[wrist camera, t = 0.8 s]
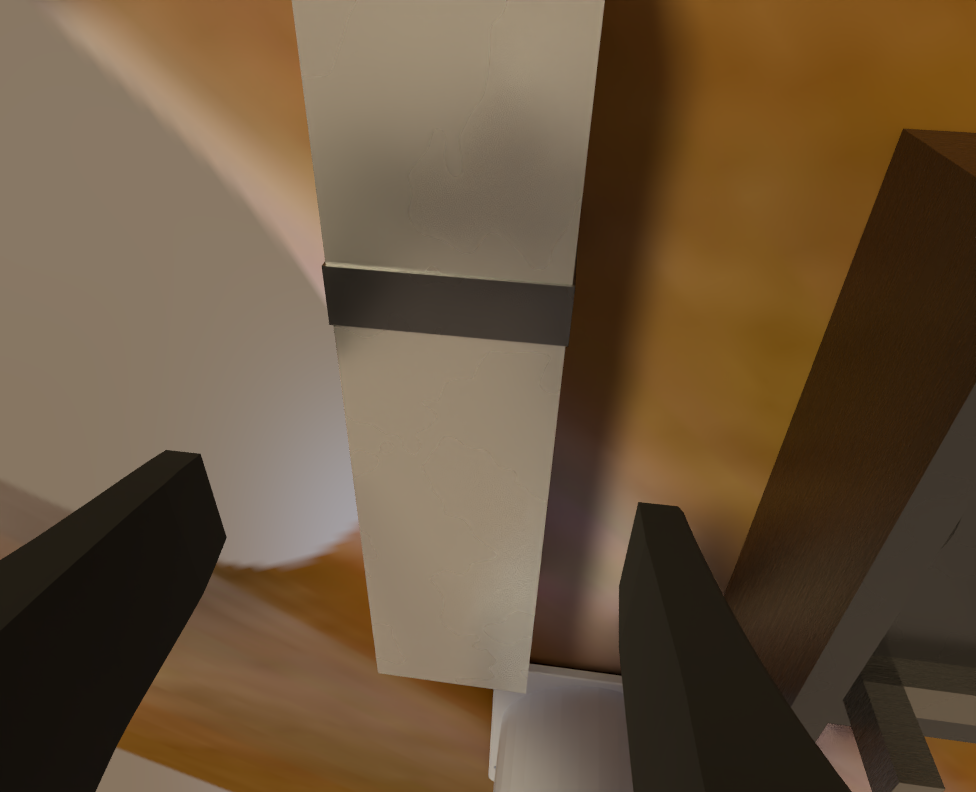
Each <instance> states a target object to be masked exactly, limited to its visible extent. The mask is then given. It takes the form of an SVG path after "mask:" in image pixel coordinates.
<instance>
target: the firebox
mask: <svg viewBox="0 0 976 792" xmlns="http://www.w3.org/2000/svg"><path fill="white" fill-rule="evenodd" d="M724 597H725V599H726V601H727V603H728V605H729V606H730V608H731V610H732V612H733V614H734V615H735V617H736V619H737V621H738V622H739V624H740V626H741V628H742V629H743V631H744V633H745V635H746V636H747V638H748V640H749V642H750V643H751V645H752V647H753V648H754V650H755V652H756V653H757V655H758V657H759V658H760V660H761V662H762V663H763V665H764V666H765V668H766V670H767V671H768V673H769V674H770V676H771V677H772V679H773V681H774V682H775V684H776V685H777V687H778V688H779V690H780V691H781V693H782V695H783V696H784V698H785V699H786V701H787V702H788V704H789V705H790V707H791V708H792V710H793V711H794V713H795V714H796V716H797V717H798V719H799V720H800V722H801V723H802V724H803V726H804V727H805V729H806V730H807V732H808V733H809V735H810V736H811V737H812V739H813V740H814V742H816V740H817V739H818V737H819V736H820V734H821V733H822V731H823V730H824V728H825V727H826V725H827V723H831V724H839V725H846V726H851V727H852V730H853V734H854V737H855V740H856V743H857V746H858V749H859V752H860V755H861V759H862V762H863V765H864V768H865V771H866V774H867V777H868V780H869V783H870V787H871V790H872V792H943V791H944V790H945V787H944V785H943V782H942V780H941V777H940V775H939V772H938V770H937V767H936V765H935V763H934V760H933V758H932V755H931V753H930V750H929V748H928V745H927V743H926V740H925V738H924V736H926V737H934V738H941V739H948V740H956V741H963V742H970V743H976V133H966V132H949V131H932V130H915V129H903V131H902V133H901V136H900V139H899V141H898V144H897V146H896V149H895V152H894V154H893V157H892V159H891V162H890V165H889V167H888V170H887V172H886V175H885V178H884V180H883V183H882V186H881V188H880V191H879V193H878V196H877V199H876V201H875V204H874V206H873V209H872V212H871V214H870V217H869V219H868V222H867V225H866V227H865V230H864V233H863V235H862V238H861V240H860V243H859V246H858V248H857V251H856V253H855V256H854V259H853V261H852V264H851V266H850V269H849V272H848V274H847V277H846V280H845V282H844V285H843V287H842V290H841V293H840V295H839V298H838V300H837V303H836V306H835V308H834V311H833V313H832V316H831V319H830V321H829V324H828V327H827V329H826V332H825V334H824V337H823V340H822V342H821V345H820V347H819V350H818V353H817V355H816V358H815V361H814V363H813V366H812V368H811V371H810V374H809V376H808V379H807V381H806V384H805V387H804V389H803V392H802V394H801V397H800V400H799V402H798V405H797V408H796V410H795V413H794V415H793V418H792V421H791V423H790V426H789V428H788V431H787V434H786V436H785V439H784V441H783V444H782V447H781V449H780V452H779V455H778V457H777V460H776V462H775V465H774V468H773V470H772V473H771V475H770V478H769V481H768V483H767V486H766V488H765V491H764V494H763V496H762V499H761V502H760V504H759V507H758V509H757V512H756V515H755V517H754V520H753V522H752V525H751V528H750V530H749V533H748V535H747V538H746V541H745V543H744V546H743V549H742V551H741V554H740V556H739V559H738V562H737V564H736V567H735V569H734V572H733V575H732V577H731V580H730V582H729V585H728V588H727V590H726V593H725V596H724Z"/></svg>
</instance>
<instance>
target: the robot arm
mask: <svg viewBox="0 0 976 792" xmlns="http://www.w3.org/2000/svg"><path fill="white" fill-rule="evenodd" d="M225 540H226V534H225V531H224V528H223V525H222V521H221V518H220V515H219V512H218V509H217V505H216V502H215V499H214V496H213V492H212V489H211V486H210V483H209V480H208V477H207V473H206V470H205V467H204V464H203V460H202V457H201V454H197V453H188V452H178V451H170V450H165V451H164V452H162V453H161V454H159V455H157V456H156V457H154V458H153V459H151V460H150V461H148V462H147V463H145V464H144V465H142V466H141V467H139V468H138V469H136V470H135V471H133V472H132V473H130V474H129V475H127V476H126V477H124V478H123V479H121V480H120V481H119V482H117V483H116V484H114V485H113V486H111V487H110V488H109V489H107V490H105V491H104V492H103V493H101V494H100V495H99V496H97V497H95V498H94V499H92V500H91V501H90V502H88V503H87V504H85V505H84V506H82V507H81V508H79V509H78V510H76V511H75V512H73V513H72V514H70V515H69V516H67V517H66V518H64V519H63V520H61V521H60V522H59V523H57V524H56V525H54V526H53V527H51V528H50V529H48V530H47V531H45V532H44V533H42V534H41V535H39V536H38V537H36V538H35V539H33V540H32V541H30V542H28V543H27V544H25V545H24V546H22V547H20V548H19V549H17V550H16V551H14V552H12V553H11V554H9V555H8V556H6V557H5V558H3V559H1V560H0V792H95V791H96V789H97V787H98V785H99V783H100V781H101V778H102V776H103V774H104V772H105V769H106V768H107V765H108V763H109V761H110V759H111V757H112V755H113V752H114V750H115V748H116V746H117V744H118V742H119V741H120V739H121V737H122V735H123V733H124V731H125V729H126V727H127V726H128V724H129V722H130V720H131V718H132V716H133V715H134V713H135V711H136V709H137V708H138V706H139V704H140V703H141V701H142V699H143V697H144V696H145V694H146V692H147V691H148V689H149V687H150V685H151V684H152V682H153V680H154V678H155V677H156V675H157V673H158V672H159V670H160V668H161V666H162V665H163V663H164V661H165V660H166V658H167V656H168V654H169V653H170V651H171V649H172V648H173V646H174V644H175V642H176V641H177V639H178V637H179V636H180V634H181V632H182V630H183V629H184V627H185V625H186V623H187V622H188V620H189V618H190V616H191V615H192V613H193V611H194V609H195V608H196V606H197V604H198V602H199V600H200V599H201V597H202V595H203V593H204V591H205V589H206V586H207V584H208V582H209V579H210V577H211V575H212V572H213V570H214V568H215V565H216V563H217V560H218V558H219V555H220V553H221V550H222V548H223V545H224V543H225ZM619 653H620V664H621V674H622V676H620V675H612V674H605V673H597V672H590V671H583V670H575V669H568V668H560V667H553V666H545V665H538V664H530V663H529V670H528V679H527V688H526V694H525V693H518V692H511V691H504V690H496V689H494V691H493V708H492V725H491V741H490V758H489V775H488V776H489V778H490V779H491V780H492V781H494V789H493V792H852V791H851V790H850V789H849V788H848V786H847V785H846V784H845V782H844V781H843V780H842V778H841V777H840V776H839V775H838V773H837V772H836V771H835V769H834V768H833V766H832V765H831V764H830V762H829V761H828V759H827V758H826V757H825V755H824V754H823V753H822V751H821V750H820V748H819V747H818V746H817V744H816V743H815V742H814V740H813V739H812V737H811V736H810V735H809V733H808V732H807V730H806V729H805V727H804V726H803V724H802V723H801V722H800V720H799V719H798V717H797V716H796V714H795V713H794V711H793V710H792V708H791V707H790V705H789V704H788V702H787V701H786V699H785V698H784V696H783V695H782V693H781V691H780V690H779V688H778V687H777V685H776V684H775V682H774V681H773V679H772V677H771V676H770V674H769V673H768V671H767V670H766V668H765V666H764V665H763V663H762V662H761V660H760V658H759V657H758V655H757V653H756V652H755V650H754V648H753V647H752V645H751V643H750V642H749V640H748V638H747V636H746V635H745V633H744V631H743V629H742V628H741V626H740V624H739V622H738V621H737V619H736V617H735V615H734V614H733V612H732V610H731V608H730V606H729V605H728V603H727V601H726V599H725V597H724V596H723V594H722V592H721V590H720V588H719V586H718V584H717V582H716V580H715V579H714V577H713V575H712V573H711V571H710V569H709V567H708V565H707V563H706V561H705V559H704V557H703V555H702V553H701V550H700V548H699V546H698V544H697V542H696V540H695V538H694V536H693V533H692V531H691V529H690V527H689V524H688V522H687V520H686V517H685V515H684V513H683V512H682V510H681V509H680V508H679V507H678V506H669V505H660V504H651V503H642V502H638V506H637V511H636V515H635V519H634V524H633V528H632V532H631V537H630V541H629V545H628V550H627V554H626V559H625V563H624V567H623V572H622V576H621V580H620V585H619Z"/></svg>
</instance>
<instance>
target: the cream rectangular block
mask: <svg viewBox="0 0 976 792" xmlns="http://www.w3.org/2000/svg"><path fill="white" fill-rule="evenodd" d="M604 3H605V0H292V6H293V13H294V21H295V29H296V37H297V45H298V52H299V60H300V68H301V76H302V84H303V91H304V99H305V107H306V115H307V122H308V130H309V138H310V146H311V154H312V161H313V169H314V177H315V185H316V193H317V200H318V208H319V216H320V224H321V232H322V239H323V247H324V255H325V262H324V264H323V265H322V272H323V279H324V287H325V294H326V302H327V310H328V317H329V324H330V325H334V333H335V340H336V348H337V355H338V364H339V371H340V379H341V387H342V395H343V403H344V410H345V418H346V426H347V434H348V442H349V450H350V457H351V465H352V473H353V481H354V489H355V496H356V504H357V512H358V520H359V527H360V535H361V543H362V551H363V559H364V566H365V574H366V582H367V590H368V598H369V605H370V613H371V621H372V629H373V636H374V644H375V652H376V660H377V668H378V673H382V674H389V675H397V676H404V677H411V678H418V679H425V680H432V681H439V682H447V683H454V684H461V685H468V686H475V687H482V688H489V689H496V690H504V691H511V692H518V693H525V694H526V688H527V679H528V670H529V661H530V652H531V644H532V635H533V626H534V617H535V609H536V600H537V591H538V582H539V573H540V565H541V556H542V547H543V538H544V529H545V521H546V512H547V503H548V494H549V486H550V477H551V468H552V459H553V450H554V442H555V433H556V424H557V415H558V407H559V398H560V389H561V380H562V371H563V363H564V354H565V346H567V347H568V344H569V335H570V327H571V318H572V310H573V301H574V293H575V280H576V261H577V242H578V231H579V222H580V213H581V205H582V196H583V187H584V178H585V169H586V161H587V152H588V143H589V134H590V126H591V117H592V108H593V99H594V90H595V82H596V73H597V64H598V55H599V47H600V38H601V29H602V20H603V11H604Z"/></svg>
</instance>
